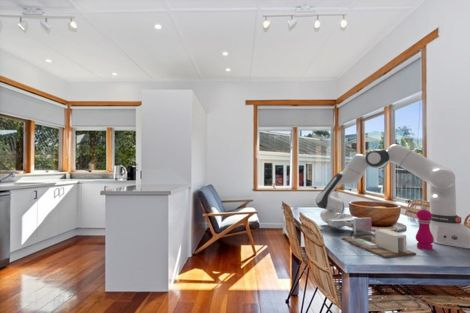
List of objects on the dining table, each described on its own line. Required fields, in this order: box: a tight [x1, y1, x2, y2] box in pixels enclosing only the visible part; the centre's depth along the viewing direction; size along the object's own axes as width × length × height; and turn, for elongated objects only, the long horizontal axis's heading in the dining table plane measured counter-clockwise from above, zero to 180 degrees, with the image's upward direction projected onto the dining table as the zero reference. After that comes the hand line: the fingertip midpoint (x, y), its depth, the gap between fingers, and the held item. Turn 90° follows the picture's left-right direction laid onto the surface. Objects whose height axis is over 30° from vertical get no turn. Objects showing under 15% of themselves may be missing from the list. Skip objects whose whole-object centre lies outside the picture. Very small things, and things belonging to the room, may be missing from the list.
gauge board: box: [340, 236, 417, 259], centre depth 133 cm, size 30×17×1 cm, turn 13°
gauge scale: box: [351, 236, 377, 248], centre depth 134 cm, size 14×3×2 cm, turn 13°
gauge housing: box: [375, 228, 407, 253], centre depth 127 cm, size 12×6×8 cm, turn 13°
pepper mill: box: [415, 206, 434, 251], centre depth 131 cm, size 7×7×20 cm
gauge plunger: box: [352, 217, 376, 238], centre depth 136 cm, size 20×14×10 cm
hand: (352, 224), depth 154 cm, fingers closed
